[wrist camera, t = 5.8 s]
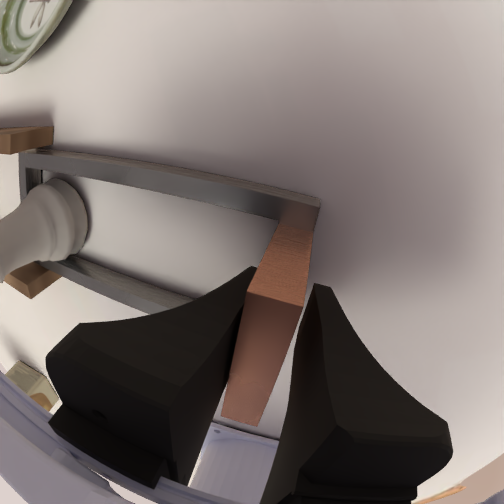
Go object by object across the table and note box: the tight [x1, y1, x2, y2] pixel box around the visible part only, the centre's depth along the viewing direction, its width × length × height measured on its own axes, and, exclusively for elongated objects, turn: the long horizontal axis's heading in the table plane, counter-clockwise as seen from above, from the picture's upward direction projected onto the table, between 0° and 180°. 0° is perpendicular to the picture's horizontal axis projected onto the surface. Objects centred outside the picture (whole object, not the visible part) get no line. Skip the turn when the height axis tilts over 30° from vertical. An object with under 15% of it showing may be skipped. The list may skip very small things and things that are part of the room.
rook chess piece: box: [0, 178, 88, 283], centre depth 10 cm, size 4×4×8 cm
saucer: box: [0, 0, 73, 74], centre depth 8 cm, size 10×10×2 cm
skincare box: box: [5, 361, 59, 412], centre depth 20 cm, size 6×4×12 cm
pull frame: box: [19, 149, 320, 427], centre depth 10 cm, size 16×7×6 cm, turn 80°
